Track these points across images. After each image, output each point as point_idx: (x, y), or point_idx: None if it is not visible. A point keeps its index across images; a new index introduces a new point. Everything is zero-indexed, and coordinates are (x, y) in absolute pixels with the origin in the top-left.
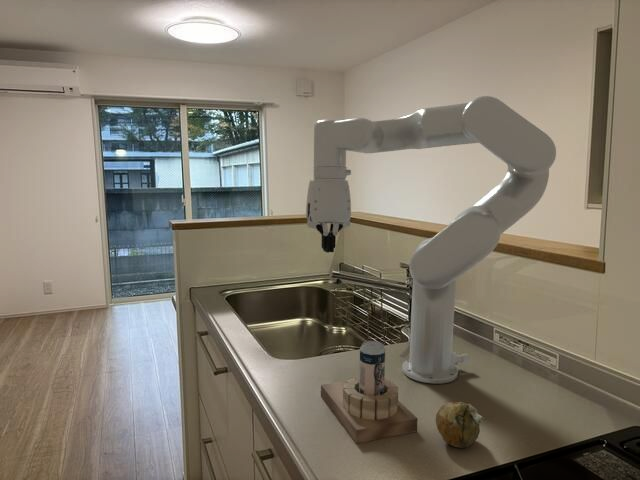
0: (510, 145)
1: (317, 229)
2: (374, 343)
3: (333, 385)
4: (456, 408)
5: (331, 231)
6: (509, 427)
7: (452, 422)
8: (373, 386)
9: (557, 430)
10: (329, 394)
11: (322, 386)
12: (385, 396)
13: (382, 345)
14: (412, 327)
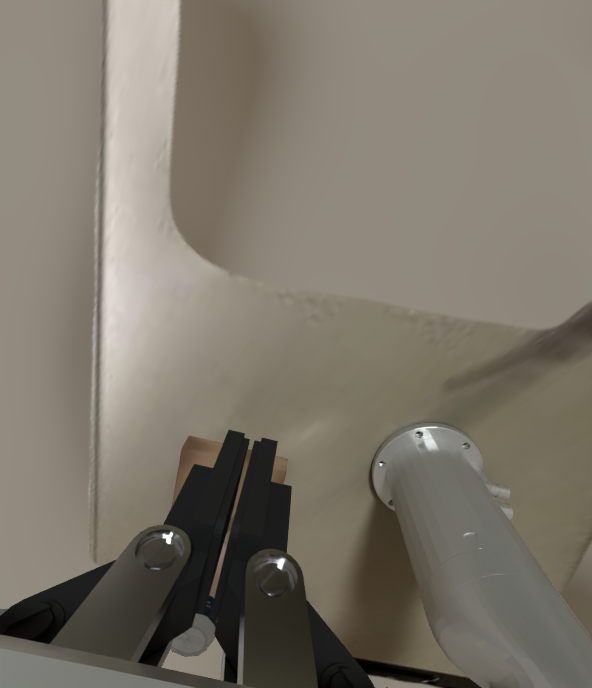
0: None
1: (59, 600)
2: (195, 636)
3: (200, 460)
4: None
5: (230, 636)
6: (369, 618)
7: None
8: None
9: (413, 647)
10: (177, 480)
11: (181, 453)
12: None
13: (205, 646)
14: (414, 530)
